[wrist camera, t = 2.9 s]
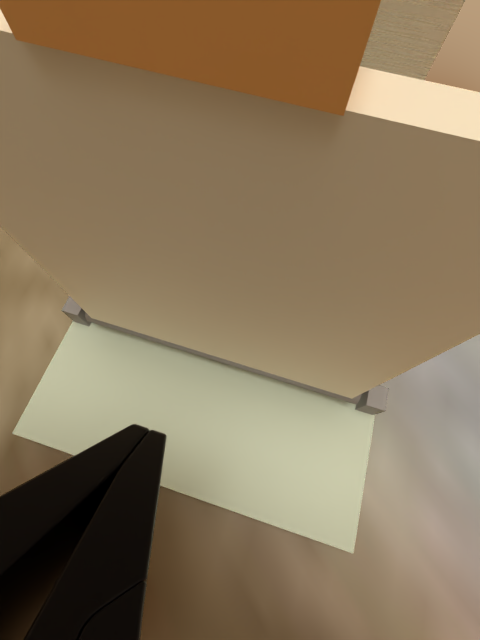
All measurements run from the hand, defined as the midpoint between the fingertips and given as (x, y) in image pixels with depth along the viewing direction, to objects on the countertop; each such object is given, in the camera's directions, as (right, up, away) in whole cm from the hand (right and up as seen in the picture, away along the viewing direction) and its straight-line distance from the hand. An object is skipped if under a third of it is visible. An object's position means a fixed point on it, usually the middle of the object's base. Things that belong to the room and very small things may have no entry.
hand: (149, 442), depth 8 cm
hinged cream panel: (+1, +1, +7) cm, 8 cm away
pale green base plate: (+2, +3, +10) cm, 11 cm away
